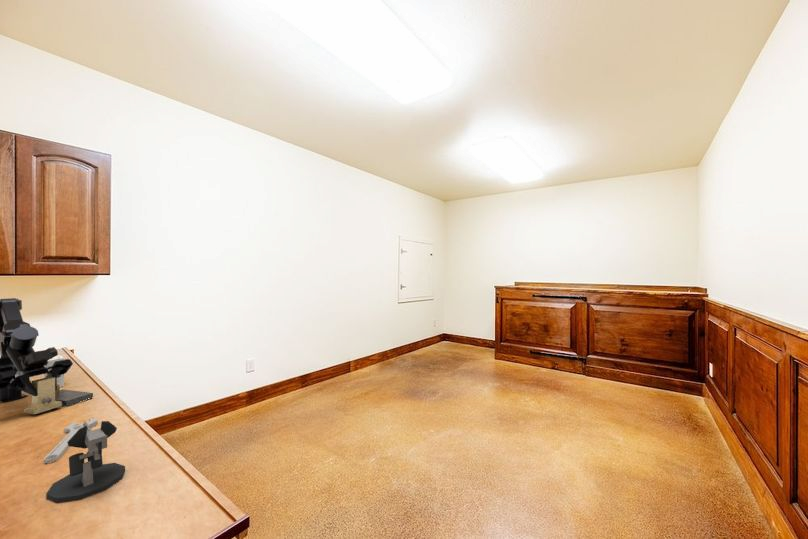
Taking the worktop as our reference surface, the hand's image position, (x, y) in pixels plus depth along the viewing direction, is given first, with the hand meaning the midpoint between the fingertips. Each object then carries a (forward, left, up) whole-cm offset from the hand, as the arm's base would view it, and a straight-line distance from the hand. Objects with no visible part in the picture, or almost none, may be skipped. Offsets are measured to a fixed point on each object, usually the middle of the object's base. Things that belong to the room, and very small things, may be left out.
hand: (46, 392), depth 112 cm
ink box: (-31, +19, -7) cm, 37 cm away
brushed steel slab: (-7, +9, -6) cm, 13 cm away
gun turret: (+56, -22, -7) cm, 60 cm away
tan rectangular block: (-1, 0, -6) cm, 6 cm away
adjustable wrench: (+31, -12, -7) cm, 34 cm away
